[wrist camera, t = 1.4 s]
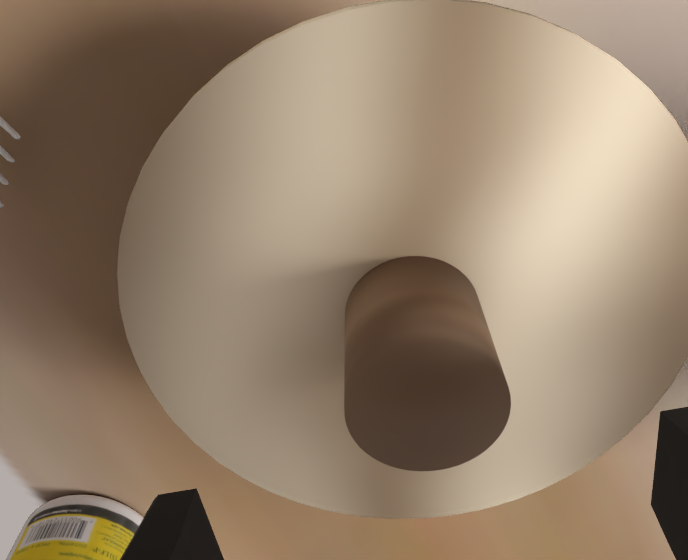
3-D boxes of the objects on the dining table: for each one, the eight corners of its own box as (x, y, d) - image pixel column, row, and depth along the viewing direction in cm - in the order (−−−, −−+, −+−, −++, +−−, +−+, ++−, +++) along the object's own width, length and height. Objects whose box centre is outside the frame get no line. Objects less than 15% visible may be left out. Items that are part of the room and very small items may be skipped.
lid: (758, -39, 12) (919, -19, 8) (658, 486, 18) (728, 614, 15) (47, 34, 12) (-61, 78, 9) (191, 515, 19) (157, 645, 15)
